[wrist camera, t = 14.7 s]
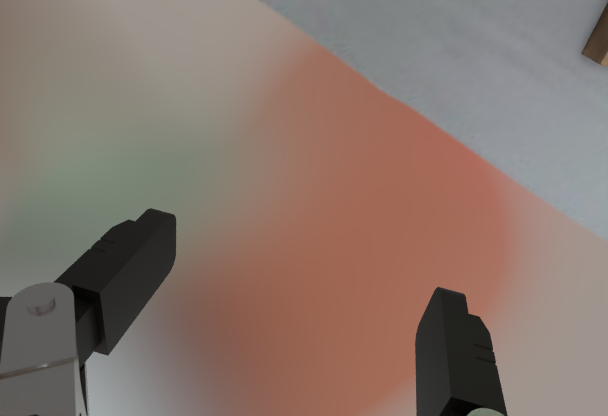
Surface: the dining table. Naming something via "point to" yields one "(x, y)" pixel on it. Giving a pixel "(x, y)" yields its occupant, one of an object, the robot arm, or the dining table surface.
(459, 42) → the dining table surface
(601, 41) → the tray
